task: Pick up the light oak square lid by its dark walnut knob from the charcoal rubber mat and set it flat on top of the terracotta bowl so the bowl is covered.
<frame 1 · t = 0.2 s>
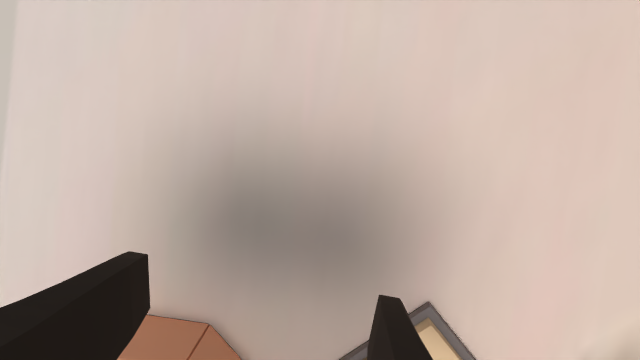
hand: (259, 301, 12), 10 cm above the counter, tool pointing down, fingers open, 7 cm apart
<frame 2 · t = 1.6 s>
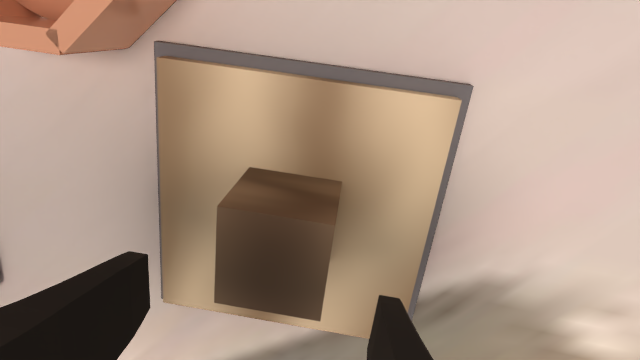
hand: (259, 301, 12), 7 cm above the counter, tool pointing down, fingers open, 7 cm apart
lid: (294, 208, 18), resting on mat
mat: (295, 203, 19), on the counter
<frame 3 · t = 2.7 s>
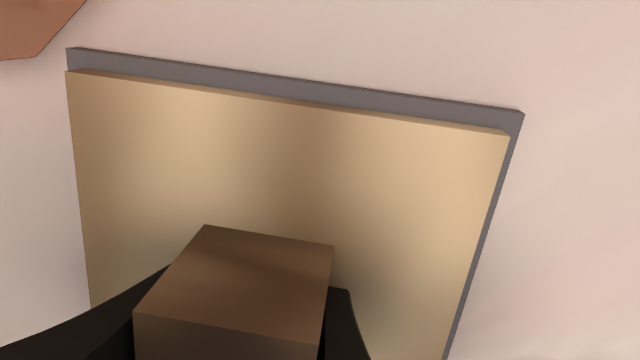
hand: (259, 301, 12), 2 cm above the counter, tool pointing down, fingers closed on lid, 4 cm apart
lid: (269, 274, 14), resting on mat, touching gripper
mat: (272, 266, 14), on the counter
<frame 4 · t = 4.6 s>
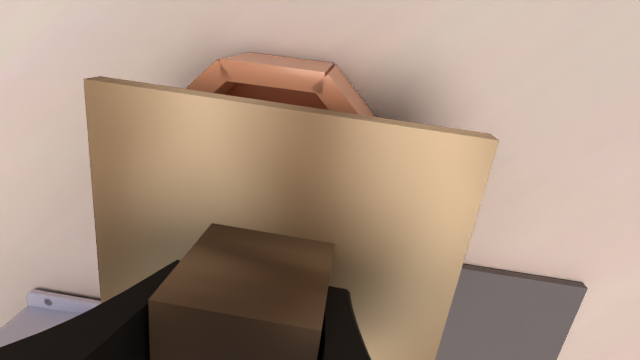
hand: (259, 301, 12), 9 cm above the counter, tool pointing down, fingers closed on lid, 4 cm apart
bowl: (282, 158, 21), on the counter
lid: (272, 272, 14), point 7 cm above the counter, touching gripper
mat: (432, 354, 24), on the counter
when the fingers open (7 cm above the counter, at t = 5.9 s): lid stays where it is, resting on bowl.
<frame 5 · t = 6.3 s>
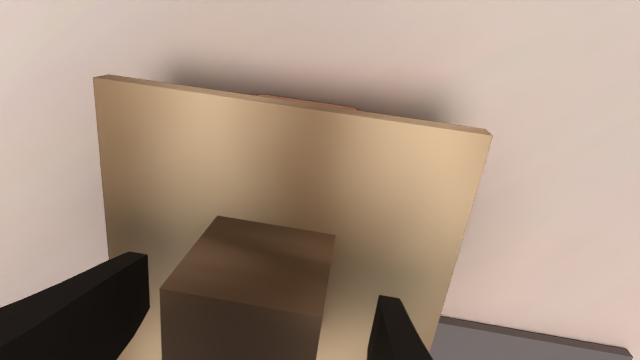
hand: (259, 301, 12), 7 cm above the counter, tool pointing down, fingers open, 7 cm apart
lid: (276, 262, 15), point 4 cm above the counter, touching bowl
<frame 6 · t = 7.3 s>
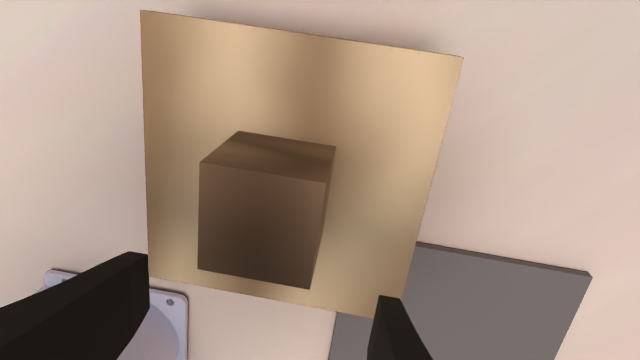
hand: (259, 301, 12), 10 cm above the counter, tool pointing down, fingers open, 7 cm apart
lid: (285, 177, 18), point 4 cm above the counter, touching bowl
mat: (439, 340, 25), on the counter
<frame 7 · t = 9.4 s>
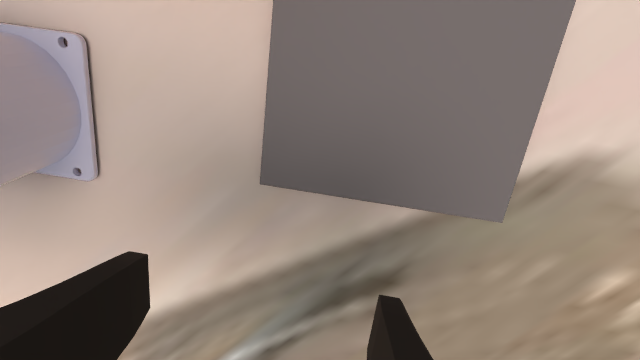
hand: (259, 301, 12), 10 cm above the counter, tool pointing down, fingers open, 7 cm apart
mat: (402, 78, 19), on the counter
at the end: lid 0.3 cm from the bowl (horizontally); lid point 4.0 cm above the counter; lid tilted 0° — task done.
